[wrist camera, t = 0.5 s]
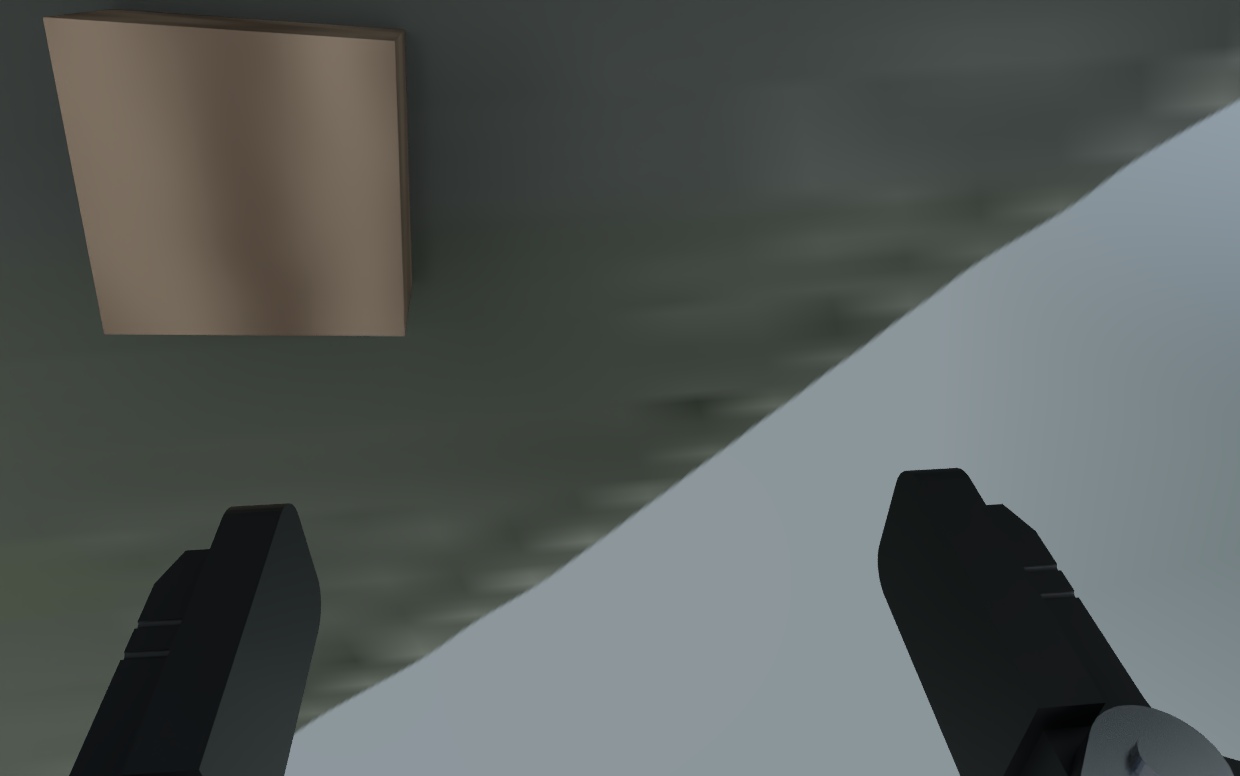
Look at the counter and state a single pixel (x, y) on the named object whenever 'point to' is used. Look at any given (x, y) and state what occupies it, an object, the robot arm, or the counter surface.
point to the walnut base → (238, 172)
